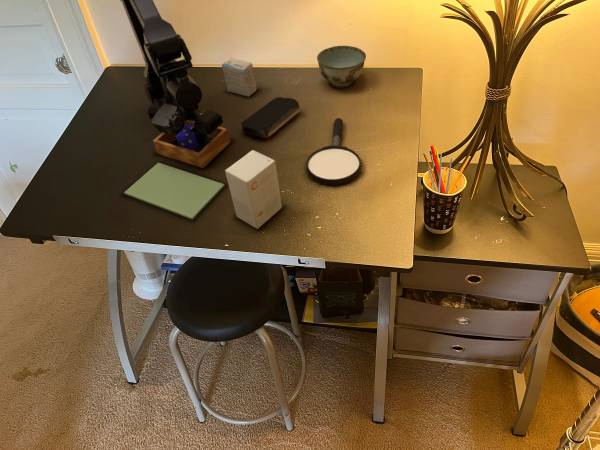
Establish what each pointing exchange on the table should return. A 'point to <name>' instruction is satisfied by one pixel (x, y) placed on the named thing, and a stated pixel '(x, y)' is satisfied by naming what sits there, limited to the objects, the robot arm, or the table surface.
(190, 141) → the die
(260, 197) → the small box
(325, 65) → the bowl
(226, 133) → the pine box
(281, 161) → the table surface
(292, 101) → the black sponge
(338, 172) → the magnifying glass
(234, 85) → the medicine box
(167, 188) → the mat
